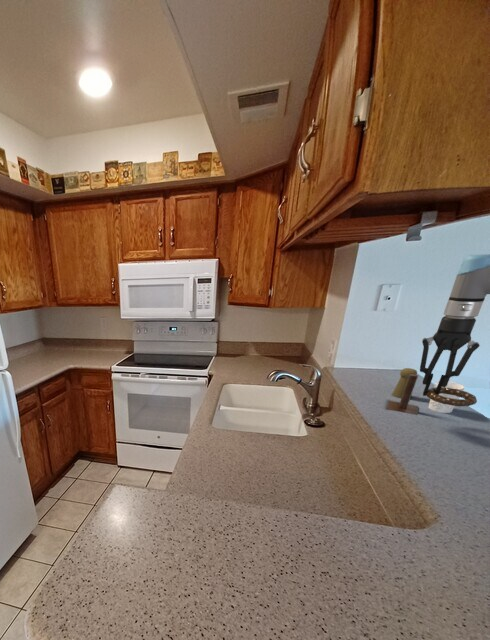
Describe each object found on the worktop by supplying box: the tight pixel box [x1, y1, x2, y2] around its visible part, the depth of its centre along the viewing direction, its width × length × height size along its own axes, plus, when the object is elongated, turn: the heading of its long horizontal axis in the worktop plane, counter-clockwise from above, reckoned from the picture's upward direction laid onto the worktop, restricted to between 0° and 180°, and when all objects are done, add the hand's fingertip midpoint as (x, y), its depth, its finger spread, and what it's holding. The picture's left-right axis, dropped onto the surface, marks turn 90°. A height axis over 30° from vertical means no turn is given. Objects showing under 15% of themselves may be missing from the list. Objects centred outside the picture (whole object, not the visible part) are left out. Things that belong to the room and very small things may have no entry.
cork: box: [391, 367, 418, 399], centre depth 128 cm, size 6×6×11 cm
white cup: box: [428, 380, 466, 414], centre depth 115 cm, size 8×8×10 cm
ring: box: [425, 387, 478, 407], centre depth 100 cm, size 12×12×2 cm
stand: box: [386, 374, 419, 416], centre depth 114 cm, size 9×9×14 cm
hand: (430, 395), depth 103 cm, fingers closed on ring, 2 cm apart
